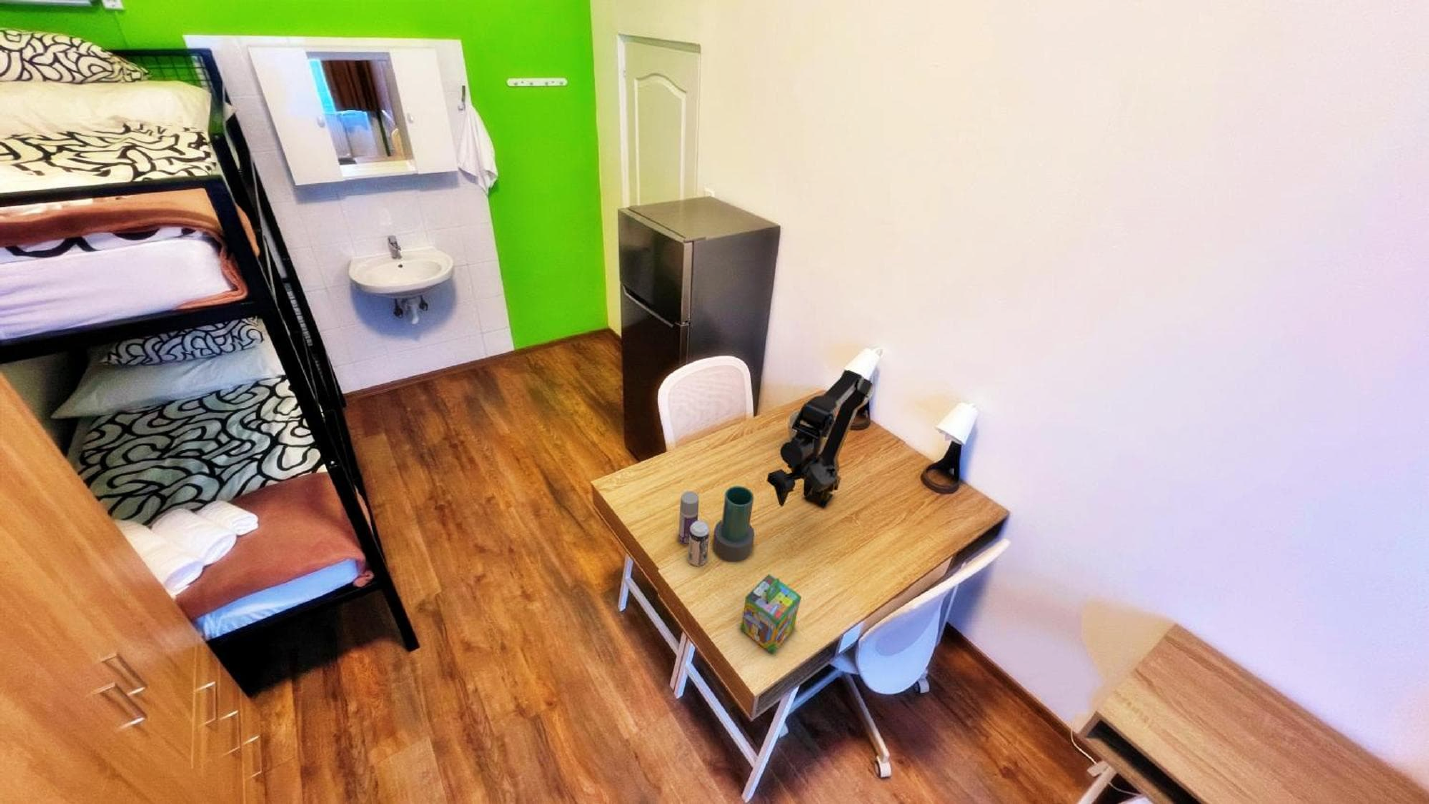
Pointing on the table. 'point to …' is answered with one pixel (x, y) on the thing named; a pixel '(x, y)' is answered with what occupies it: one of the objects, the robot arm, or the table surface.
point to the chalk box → (770, 612)
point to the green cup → (737, 513)
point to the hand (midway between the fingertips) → (793, 500)
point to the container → (687, 515)
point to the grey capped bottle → (698, 542)
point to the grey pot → (732, 545)
